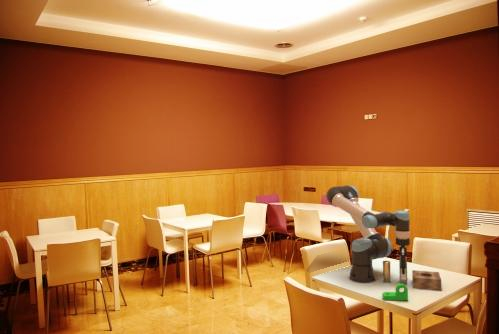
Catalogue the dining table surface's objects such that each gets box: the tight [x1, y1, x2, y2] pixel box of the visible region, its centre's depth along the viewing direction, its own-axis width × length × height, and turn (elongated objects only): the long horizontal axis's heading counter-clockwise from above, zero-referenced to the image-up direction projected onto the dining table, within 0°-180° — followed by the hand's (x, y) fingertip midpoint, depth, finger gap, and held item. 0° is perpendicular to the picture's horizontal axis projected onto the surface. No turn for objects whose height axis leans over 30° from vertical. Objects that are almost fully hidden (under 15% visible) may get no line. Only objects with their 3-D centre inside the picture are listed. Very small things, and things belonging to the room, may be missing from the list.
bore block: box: [411, 269, 442, 292], centre depth 216 cm, size 14×14×6 cm
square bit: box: [398, 256, 408, 286], centre depth 220 cm, size 4×4×15 cm
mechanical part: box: [382, 283, 409, 301], centre depth 199 cm, size 12×6×8 cm, turn 81°
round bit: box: [382, 260, 392, 284], centre depth 224 cm, size 4×4×12 cm
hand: (403, 277), depth 220 cm, fingers closed on square bit, 4 cm apart
